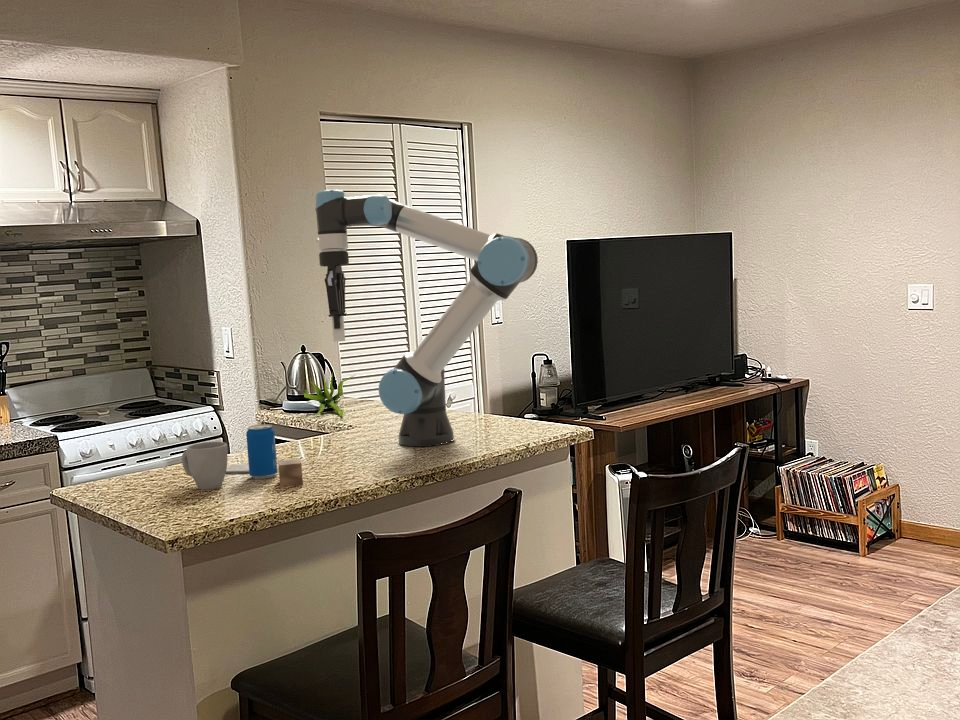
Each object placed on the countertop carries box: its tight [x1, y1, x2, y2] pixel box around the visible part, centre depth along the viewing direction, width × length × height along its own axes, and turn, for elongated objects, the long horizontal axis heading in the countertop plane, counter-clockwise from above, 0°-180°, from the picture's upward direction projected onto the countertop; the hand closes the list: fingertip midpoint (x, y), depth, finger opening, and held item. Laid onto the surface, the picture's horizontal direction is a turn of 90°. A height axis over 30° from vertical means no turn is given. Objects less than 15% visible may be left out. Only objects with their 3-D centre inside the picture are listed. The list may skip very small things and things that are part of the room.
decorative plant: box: [303, 373, 356, 419], centre depth 310 cm, size 18×30×15 cm, turn 172°
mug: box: [181, 441, 228, 491], centre depth 209 cm, size 12×9×10 cm
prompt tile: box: [225, 463, 250, 475], centre depth 226 cm, size 9×9×1 cm
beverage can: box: [245, 423, 278, 480], centre depth 217 cm, size 6×6×12 cm
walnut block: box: [277, 458, 304, 488], centre depth 209 cm, size 5×5×5 cm
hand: (339, 341), depth 241 cm, fingers closed
